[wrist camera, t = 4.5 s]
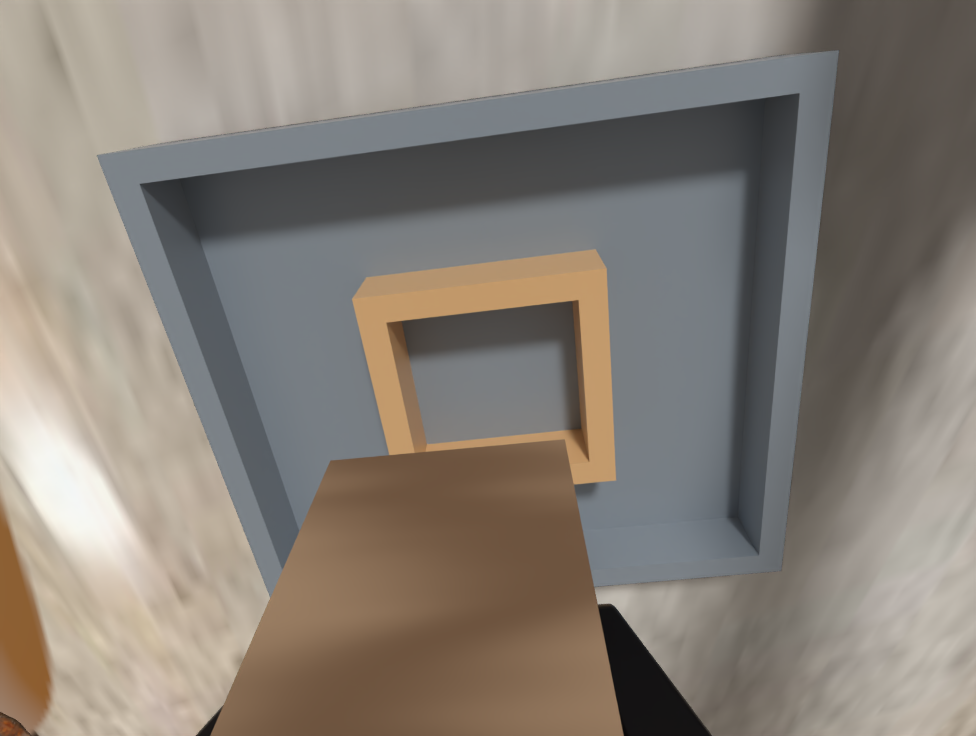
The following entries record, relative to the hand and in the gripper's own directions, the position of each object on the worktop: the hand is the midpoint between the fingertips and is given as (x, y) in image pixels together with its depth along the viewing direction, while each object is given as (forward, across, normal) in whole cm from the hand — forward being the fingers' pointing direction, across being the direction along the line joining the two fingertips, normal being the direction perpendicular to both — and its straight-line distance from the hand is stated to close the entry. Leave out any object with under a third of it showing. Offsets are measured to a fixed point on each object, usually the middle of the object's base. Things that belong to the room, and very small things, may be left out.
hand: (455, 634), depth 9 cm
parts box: (+12, 0, +1) cm, 12 cm away
